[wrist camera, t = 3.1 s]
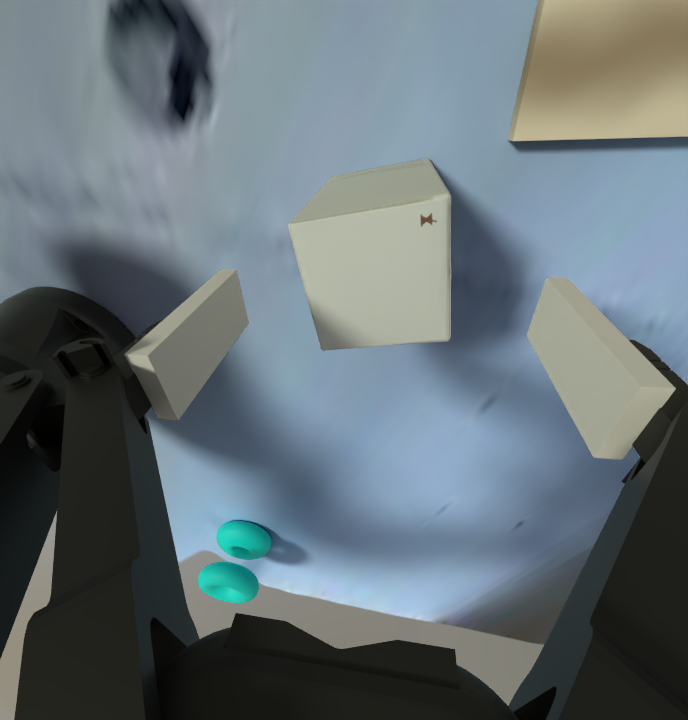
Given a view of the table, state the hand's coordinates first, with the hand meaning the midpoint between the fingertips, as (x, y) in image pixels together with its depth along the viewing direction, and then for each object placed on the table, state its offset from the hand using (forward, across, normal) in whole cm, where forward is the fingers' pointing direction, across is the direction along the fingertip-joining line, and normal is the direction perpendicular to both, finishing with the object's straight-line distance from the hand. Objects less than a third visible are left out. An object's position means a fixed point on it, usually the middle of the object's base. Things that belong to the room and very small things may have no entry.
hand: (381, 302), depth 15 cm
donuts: (+14, +24, +55) cm, 61 cm away
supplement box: (+14, 0, 0) cm, 14 cm away
